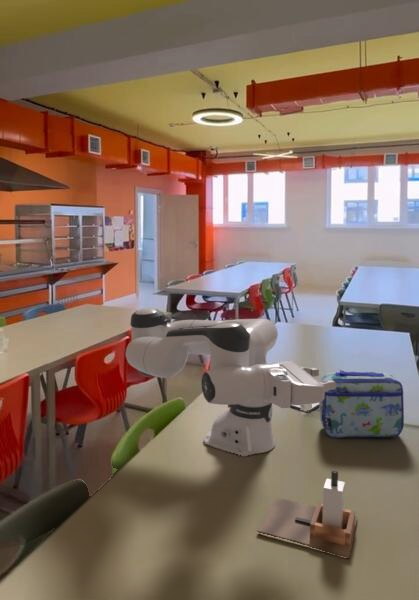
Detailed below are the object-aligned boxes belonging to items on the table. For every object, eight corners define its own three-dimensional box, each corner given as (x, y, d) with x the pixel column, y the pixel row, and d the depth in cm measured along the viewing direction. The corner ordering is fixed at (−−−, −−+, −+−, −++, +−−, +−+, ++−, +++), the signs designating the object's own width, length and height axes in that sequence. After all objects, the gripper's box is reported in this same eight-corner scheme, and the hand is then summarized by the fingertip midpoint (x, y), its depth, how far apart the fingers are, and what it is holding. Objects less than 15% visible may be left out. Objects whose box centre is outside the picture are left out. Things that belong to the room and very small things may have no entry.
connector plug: (321, 532, 105) (324, 475, 103) (325, 522, 109) (327, 466, 106) (340, 537, 103) (342, 478, 101) (342, 526, 107) (345, 469, 105)
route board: (257, 534, 106) (257, 518, 105) (274, 500, 119) (274, 486, 118) (348, 559, 98) (349, 542, 98) (357, 520, 111) (357, 504, 110)
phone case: (308, 415, 172) (331, 401, 183) (308, 410, 171) (331, 397, 183) (288, 408, 178) (311, 395, 189) (288, 404, 177) (311, 392, 189)
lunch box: (320, 439, 151) (322, 377, 148) (316, 425, 162) (318, 366, 158) (404, 442, 149) (408, 379, 145) (394, 427, 159) (398, 368, 155)
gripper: (258, 380, 122) (308, 376, 125) (286, 411, 102) (345, 406, 105) (258, 356, 121) (309, 353, 123) (286, 383, 101) (346, 379, 104)
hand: (325, 377), depth 114 cm, fingers open, 8 cm apart
